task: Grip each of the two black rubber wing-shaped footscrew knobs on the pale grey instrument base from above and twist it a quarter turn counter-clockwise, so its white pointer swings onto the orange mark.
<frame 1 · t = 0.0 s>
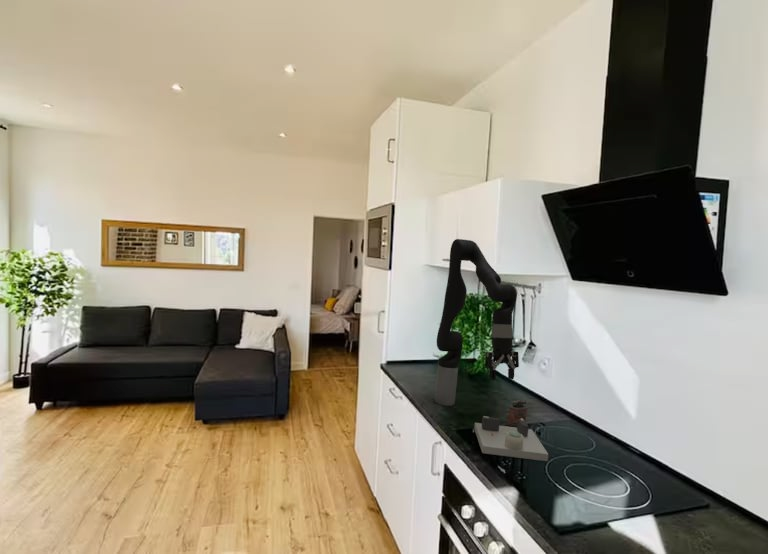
hand: (501, 379, 151), 22 cm above the cooktop, tool pointing down, fingers open, 8 cm apart
base plate: (508, 443, 147), on the cooktop
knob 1: (490, 423, 152), point 5 cm above the cooktop, hinge at 0.0°
lighter: (516, 424, 166), on the cooktop
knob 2: (522, 426, 151), point 5 cm above the cooktop, hinge at 0.0°
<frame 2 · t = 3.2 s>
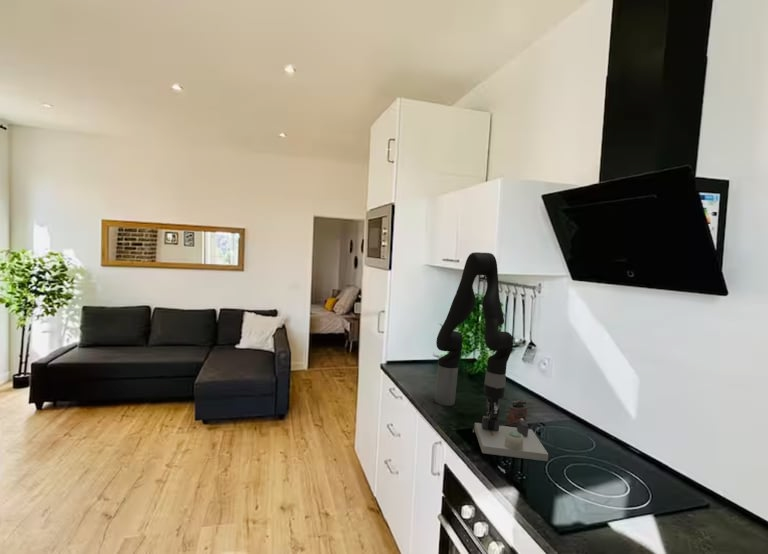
hand: (490, 427, 152), 3 cm above the cooktop, tool pointing down, fingers closed on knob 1, 2 cm apart
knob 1: (490, 423, 152), point 5 cm above the cooktop, hinge at 0.0°, touching gripper
everything else where it was.
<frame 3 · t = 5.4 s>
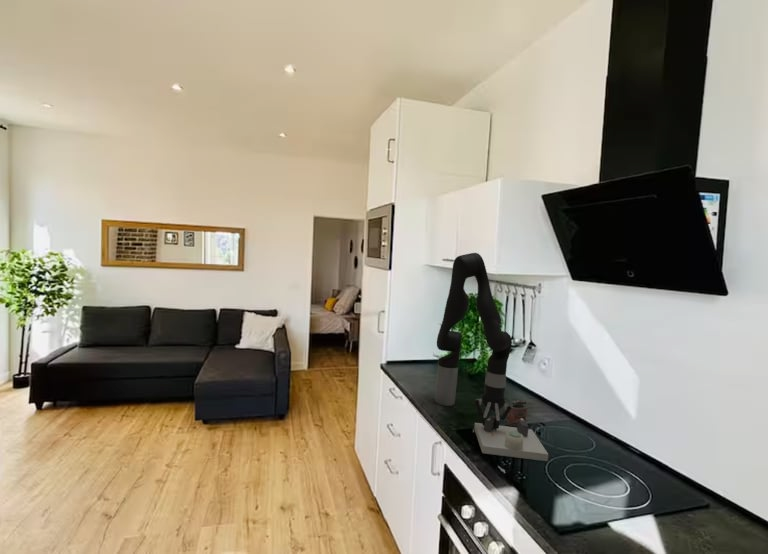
hand: (490, 427, 153), 3 cm above the cooktop, tool pointing down, fingers closed on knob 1, 3 cm apart
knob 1: (490, 423, 152), point 5 cm above the cooktop, hinge at 57.0°, touching gripper
everything else where it was.
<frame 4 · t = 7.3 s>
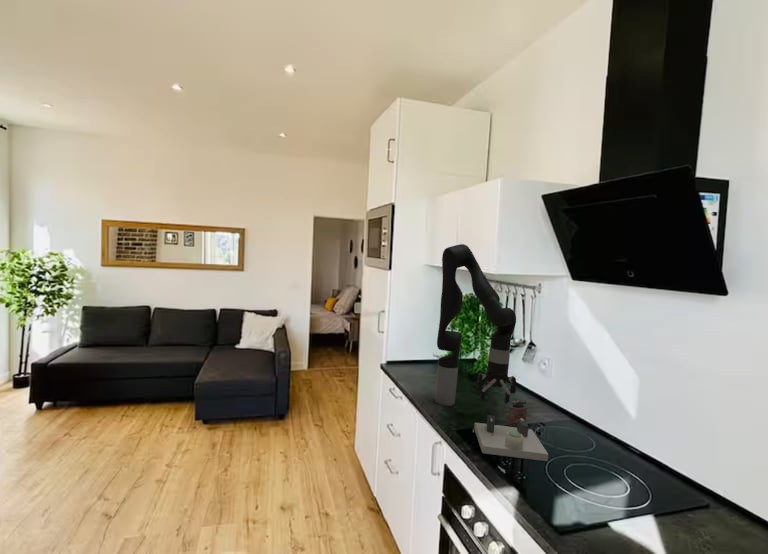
hand: (494, 401, 152), 13 cm above the cooktop, tool pointing down, fingers open, 8 cm apart
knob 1: (490, 423, 152), point 5 cm above the cooktop, hinge at 82.2°
everything else where it was.
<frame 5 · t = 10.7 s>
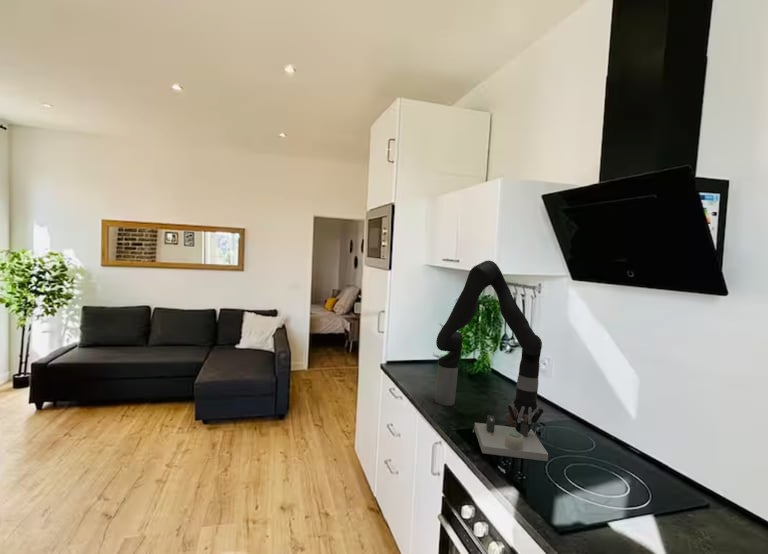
hand: (522, 431, 152), 3 cm above the cooktop, tool pointing down, fingers closed on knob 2, 2 cm apart
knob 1: (490, 423, 152), point 5 cm above the cooktop, hinge at 83.5°
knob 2: (522, 426, 151), point 5 cm above the cooktop, hinge at 0.0°, touching gripper
everything else where it was.
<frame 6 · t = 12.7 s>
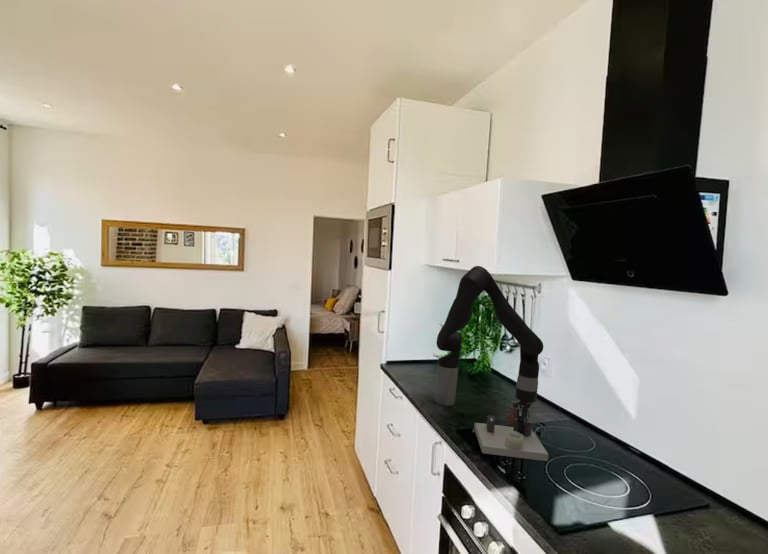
hand: (521, 431, 152), 3 cm above the cooktop, tool pointing down, fingers closed on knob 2, 3 cm apart
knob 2: (522, 426, 151), point 5 cm above the cooktop, hinge at 50.6°, touching gripper
everything else where it was.
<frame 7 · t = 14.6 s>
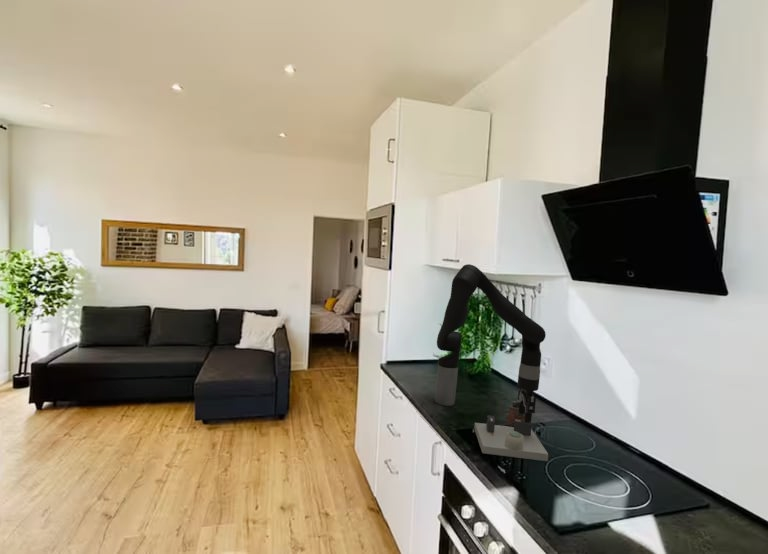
hand: (524, 417, 152), 9 cm above the cooktop, tool pointing down, fingers open, 8 cm apart
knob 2: (522, 426, 151), point 5 cm above the cooktop, hinge at 76.5°
everything else where it was.
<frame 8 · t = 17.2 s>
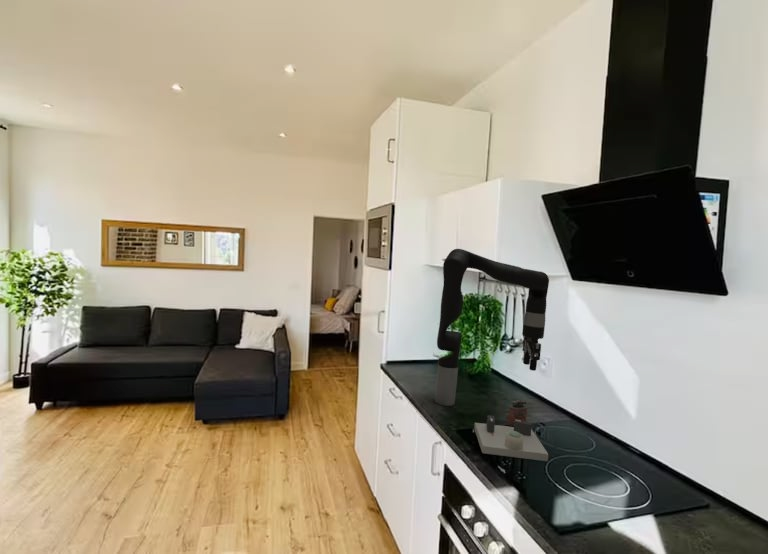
hand: (529, 367, 150), 28 cm above the cooktop, tool pointing down, fingers open, 8 cm apart
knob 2: (522, 426, 151), point 5 cm above the cooktop, hinge at 77.6°
everything else where it was.
at the end: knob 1 at +84° (first picture: +0°); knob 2 at +78° (first picture: +0°) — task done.
